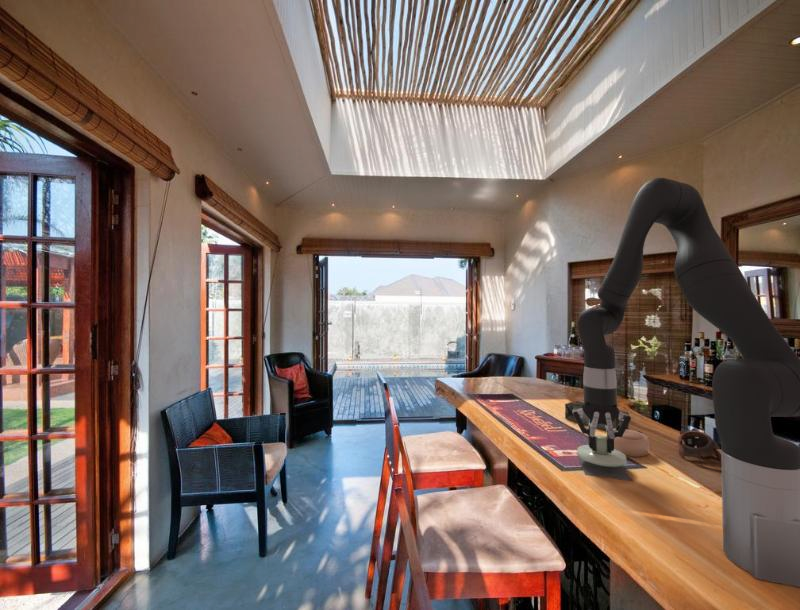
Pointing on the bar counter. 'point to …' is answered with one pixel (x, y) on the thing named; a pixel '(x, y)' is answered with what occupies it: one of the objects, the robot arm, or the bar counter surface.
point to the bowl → (632, 443)
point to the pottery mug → (697, 445)
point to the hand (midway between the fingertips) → (601, 450)
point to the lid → (602, 454)
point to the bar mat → (604, 471)
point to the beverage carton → (585, 419)
